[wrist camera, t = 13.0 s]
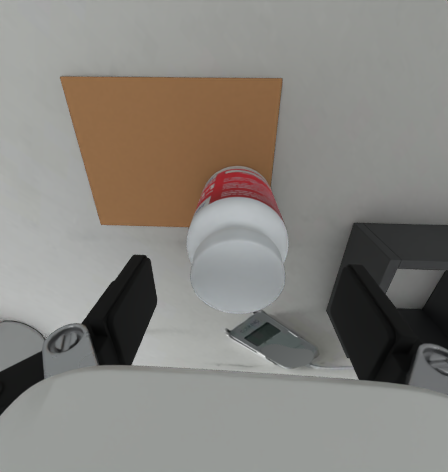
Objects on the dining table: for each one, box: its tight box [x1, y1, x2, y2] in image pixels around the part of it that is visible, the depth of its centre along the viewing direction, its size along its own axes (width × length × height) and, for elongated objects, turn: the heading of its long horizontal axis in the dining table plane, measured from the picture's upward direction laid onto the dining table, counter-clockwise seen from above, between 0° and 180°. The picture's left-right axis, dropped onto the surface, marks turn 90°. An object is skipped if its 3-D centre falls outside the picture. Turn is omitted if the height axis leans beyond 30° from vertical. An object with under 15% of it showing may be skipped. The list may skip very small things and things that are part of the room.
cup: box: [0, 321, 45, 371], centre depth 29 cm, size 7×10×9 cm
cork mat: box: [60, 77, 282, 227], centre depth 20 cm, size 16×12×1 cm
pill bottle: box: [187, 166, 289, 314], centre depth 16 cm, size 6×6×11 cm
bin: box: [326, 223, 448, 358], centre depth 22 cm, size 12×12×6 cm
